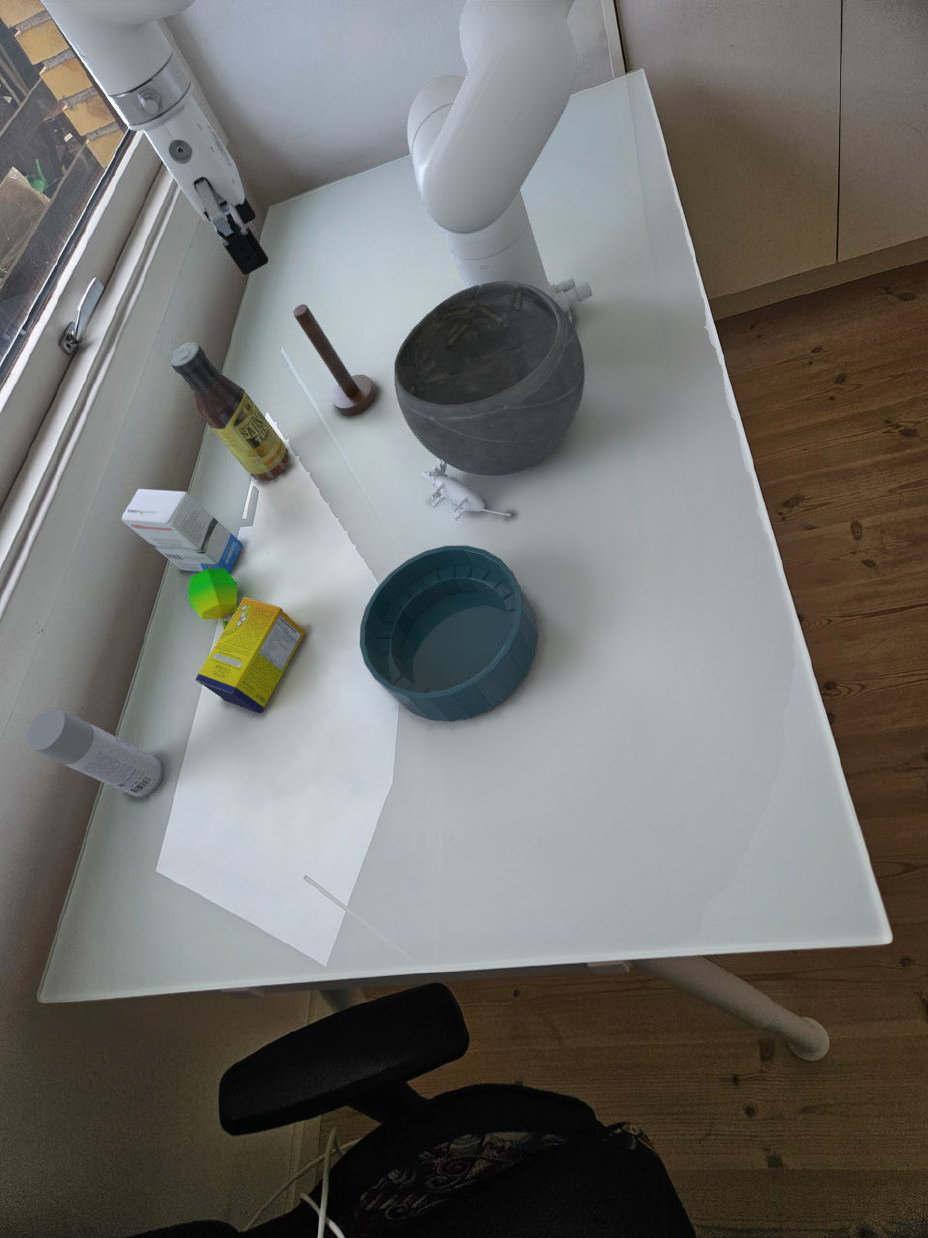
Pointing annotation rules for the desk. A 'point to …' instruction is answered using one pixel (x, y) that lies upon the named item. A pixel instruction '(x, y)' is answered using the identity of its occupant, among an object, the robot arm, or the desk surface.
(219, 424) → the sauce bottle
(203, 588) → the green faceted rounded lump
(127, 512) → the ink box
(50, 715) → the container
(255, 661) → the supplement box
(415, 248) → the desk surface
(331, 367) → the wooden potato masher
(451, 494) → the white plastic figurine
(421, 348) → the bowl
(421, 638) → the mixing bowl
